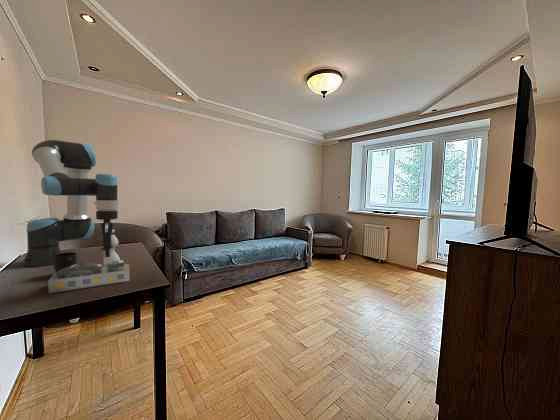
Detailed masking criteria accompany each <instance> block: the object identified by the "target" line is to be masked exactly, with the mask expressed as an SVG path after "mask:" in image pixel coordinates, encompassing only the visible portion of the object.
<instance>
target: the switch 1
mask: <svg viewBox="0 0 560 420" xmlns="http://www.w3.org/2000/svg"><path fill="white" fill-rule="evenodd" d="M79 269H80V266H79V264H78V263H76V264H74V265H72V266H69V267H66V268H64V269H61V270H59V271H58V272H57V276H58V277H61V276H63V275H66V274H69V273H71V272H74V271H76V270H79Z"/></svg>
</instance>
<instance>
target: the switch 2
mask: <svg viewBox="0 0 560 420" xmlns="http://www.w3.org/2000/svg"><path fill="white" fill-rule="evenodd" d="M102 267H103V264H99V263H91V262H90V263H89V262H85V264H84V265H83V268H82V269H83V270H88V271H100V272H101V268H102Z"/></svg>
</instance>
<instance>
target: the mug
mask: <svg viewBox="0 0 560 420" xmlns="http://www.w3.org/2000/svg"><path fill="white" fill-rule="evenodd" d="M77 255H78V254H77V252H73V251H72V252H71V251H69V252H62V253H59V254H55V255H53V256H52V257H53V264H52V266H53V269H54V271H55V272H54V273H57V272H58V271H59V270H61V269H64V268H66V267H69V266H72V265H74V264H77V263H78V261H77V260H78V258H77V257H78V256H77Z"/></svg>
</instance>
